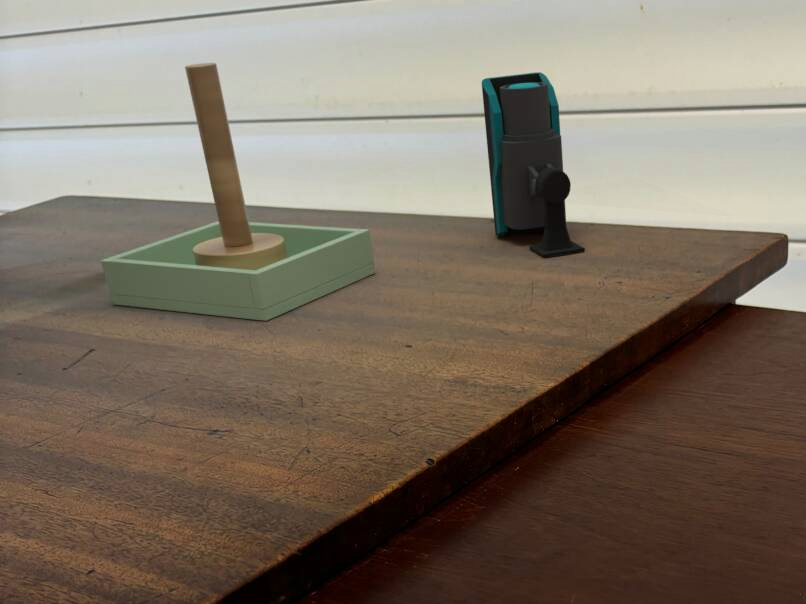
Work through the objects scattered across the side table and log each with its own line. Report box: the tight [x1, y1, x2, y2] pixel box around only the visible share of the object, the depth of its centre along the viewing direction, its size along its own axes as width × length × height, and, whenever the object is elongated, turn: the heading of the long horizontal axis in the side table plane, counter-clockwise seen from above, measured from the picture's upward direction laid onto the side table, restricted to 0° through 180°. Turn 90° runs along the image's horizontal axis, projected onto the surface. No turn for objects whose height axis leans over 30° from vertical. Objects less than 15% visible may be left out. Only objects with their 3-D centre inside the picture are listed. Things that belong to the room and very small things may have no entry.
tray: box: [100, 220, 376, 322], centre depth 92 cm, size 16×14×3 cm
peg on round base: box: [184, 62, 288, 270], centre depth 88 cm, size 7×7×15 cm
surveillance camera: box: [481, 71, 586, 259], centre depth 96 cm, size 6×12×10 cm
